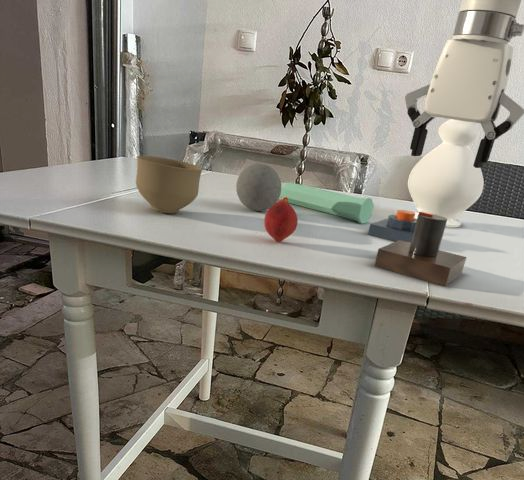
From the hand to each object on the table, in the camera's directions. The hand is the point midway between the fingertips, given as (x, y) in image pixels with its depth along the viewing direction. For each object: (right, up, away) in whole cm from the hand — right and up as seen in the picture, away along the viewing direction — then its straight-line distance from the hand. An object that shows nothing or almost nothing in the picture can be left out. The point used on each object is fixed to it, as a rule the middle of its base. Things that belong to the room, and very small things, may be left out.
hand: (445, 161), depth 78 cm
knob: (-2, -13, +6) cm, 14 cm away
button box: (+1, -5, +29) cm, 29 cm away
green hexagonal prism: (-14, +5, +45) cm, 47 cm away
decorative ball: (-30, +2, +36) cm, 47 cm away
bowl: (-47, -1, +24) cm, 53 cm away
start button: (+1, -2, +27) cm, 27 cm away
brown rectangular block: (-2, -16, +8) cm, 17 cm away
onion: (-26, -10, +13) cm, 30 cm away
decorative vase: (+16, +4, +51) cm, 53 cm away
